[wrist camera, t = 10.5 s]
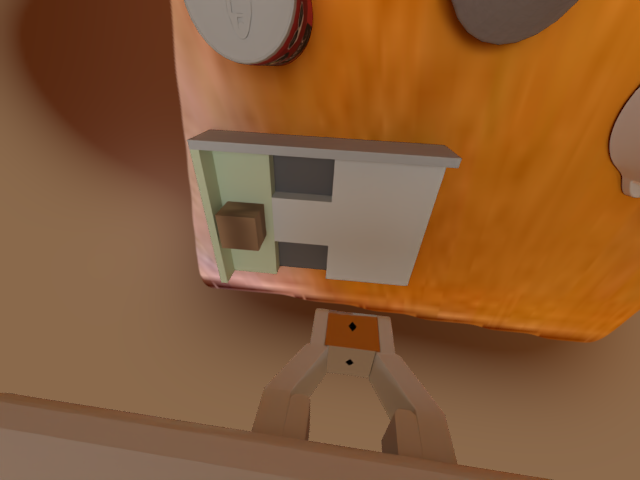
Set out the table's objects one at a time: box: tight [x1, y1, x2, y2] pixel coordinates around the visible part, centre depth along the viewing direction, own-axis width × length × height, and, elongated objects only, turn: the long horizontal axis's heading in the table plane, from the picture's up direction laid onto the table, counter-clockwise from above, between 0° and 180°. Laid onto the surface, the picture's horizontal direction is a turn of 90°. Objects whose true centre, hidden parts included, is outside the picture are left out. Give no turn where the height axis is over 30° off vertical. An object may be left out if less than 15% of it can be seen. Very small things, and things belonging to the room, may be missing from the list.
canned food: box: [184, 0, 313, 66], centre depth 21 cm, size 8×8×11 cm
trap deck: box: [187, 130, 462, 286], centre depth 35 cm, size 29×21×6 cm
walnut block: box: [215, 201, 267, 251], centre depth 34 cm, size 5×5×4 cm
